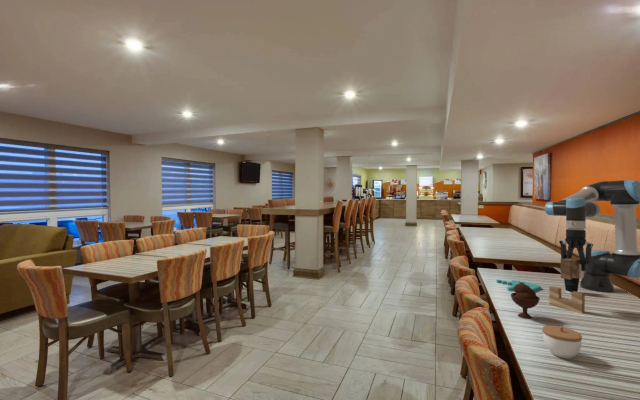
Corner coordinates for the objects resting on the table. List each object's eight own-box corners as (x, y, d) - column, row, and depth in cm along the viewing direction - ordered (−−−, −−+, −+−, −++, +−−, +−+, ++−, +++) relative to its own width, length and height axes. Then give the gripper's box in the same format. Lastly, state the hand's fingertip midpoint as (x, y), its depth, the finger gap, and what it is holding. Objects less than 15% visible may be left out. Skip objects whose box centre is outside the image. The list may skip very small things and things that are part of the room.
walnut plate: (576, 274, 156) (576, 257, 156) (586, 276, 152) (586, 258, 152) (560, 277, 150) (560, 259, 150) (570, 279, 146) (570, 260, 146)
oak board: (552, 303, 158) (552, 286, 158) (584, 312, 145) (584, 293, 145) (549, 304, 157) (549, 286, 157) (581, 313, 144) (581, 294, 144)
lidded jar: (534, 347, 111) (534, 321, 111) (562, 346, 112) (562, 320, 112) (560, 362, 100) (560, 334, 100) (590, 361, 101) (590, 333, 101)
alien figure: (508, 291, 180) (547, 293, 176) (508, 288, 180) (547, 290, 176) (496, 282, 199) (530, 284, 195) (496, 279, 199) (530, 281, 195)
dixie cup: (574, 291, 180) (574, 272, 180) (583, 295, 172) (583, 275, 172) (559, 290, 182) (559, 271, 182) (567, 294, 174) (567, 274, 174)
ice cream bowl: (531, 323, 132) (531, 288, 132) (505, 314, 142) (505, 282, 142) (544, 318, 137) (545, 285, 137) (519, 310, 147) (519, 279, 147)
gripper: (552, 228, 158) (552, 273, 158) (592, 231, 143) (592, 281, 143) (560, 227, 161) (560, 271, 161) (601, 230, 146) (601, 279, 146)
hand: (575, 276), depth 152 cm, fingers closed on walnut plate, 4 cm apart
